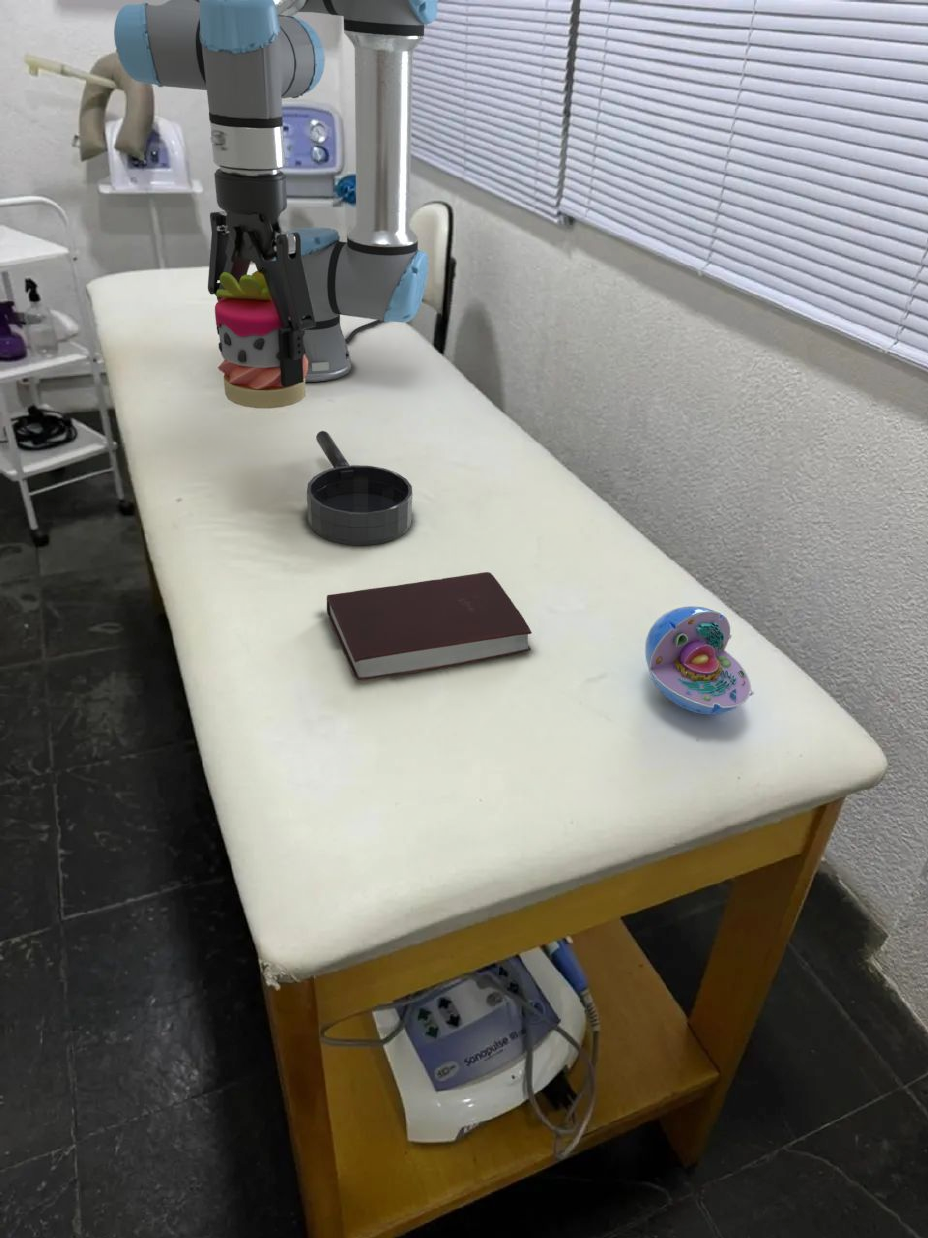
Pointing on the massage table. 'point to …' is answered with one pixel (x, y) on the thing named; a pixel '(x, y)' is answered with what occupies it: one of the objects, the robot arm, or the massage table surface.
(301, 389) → the cake
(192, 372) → the massage table surface
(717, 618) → the cell model
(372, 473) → the pan
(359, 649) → the book
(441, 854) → the massage table surface
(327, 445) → the pan handle
